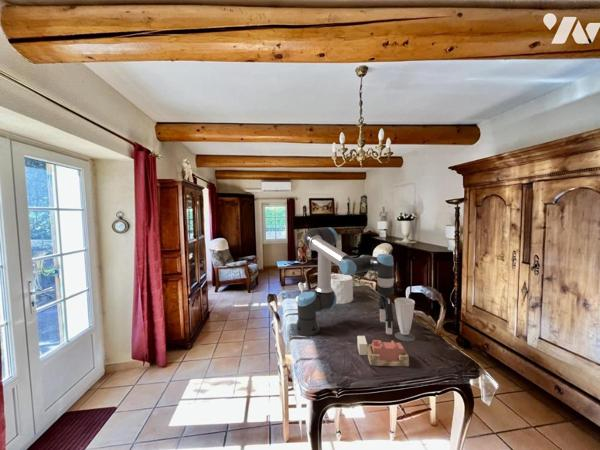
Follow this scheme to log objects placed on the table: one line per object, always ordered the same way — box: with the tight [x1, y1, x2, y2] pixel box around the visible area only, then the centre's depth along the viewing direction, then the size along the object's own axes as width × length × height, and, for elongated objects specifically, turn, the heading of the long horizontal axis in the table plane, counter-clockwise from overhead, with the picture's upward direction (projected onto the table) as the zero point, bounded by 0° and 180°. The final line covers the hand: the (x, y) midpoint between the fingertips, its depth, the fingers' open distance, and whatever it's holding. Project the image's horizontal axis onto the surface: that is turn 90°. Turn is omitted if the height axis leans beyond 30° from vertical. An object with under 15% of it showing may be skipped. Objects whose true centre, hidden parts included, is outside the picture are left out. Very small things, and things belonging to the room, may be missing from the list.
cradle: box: [366, 343, 410, 367], centre depth 131 cm, size 18×11×5 cm, turn 85°
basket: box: [331, 273, 354, 305], centre depth 224 cm, size 25×24×19 cm
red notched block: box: [371, 339, 405, 361], centre depth 131 cm, size 14×6×8 cm, turn 85°
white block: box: [356, 335, 368, 356], centre depth 140 cm, size 9×4×6 cm, turn 174°
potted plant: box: [295, 282, 307, 306], centre depth 200 cm, size 13×12×25 cm
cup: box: [393, 297, 416, 342], centre depth 154 cm, size 12×12×22 cm
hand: (385, 327), depth 130 cm, fingers open, 13 cm apart
